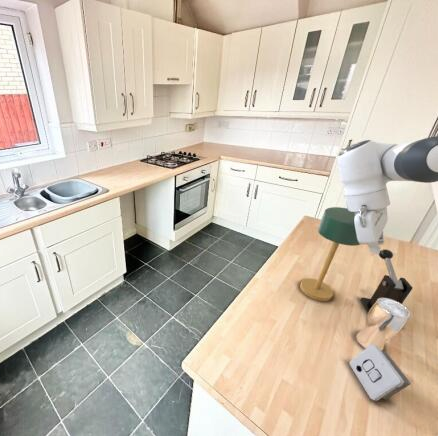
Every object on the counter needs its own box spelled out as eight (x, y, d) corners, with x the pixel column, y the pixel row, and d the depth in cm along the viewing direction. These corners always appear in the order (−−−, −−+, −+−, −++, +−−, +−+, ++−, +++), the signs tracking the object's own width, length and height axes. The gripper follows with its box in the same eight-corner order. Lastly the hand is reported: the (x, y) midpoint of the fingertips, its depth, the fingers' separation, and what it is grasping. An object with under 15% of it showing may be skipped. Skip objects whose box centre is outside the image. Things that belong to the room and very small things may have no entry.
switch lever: (375, 251, 83) (381, 246, 81) (387, 253, 83) (393, 248, 80) (386, 290, 76) (393, 286, 73) (400, 292, 75) (407, 288, 72)
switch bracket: (360, 299, 85) (377, 269, 79) (384, 304, 83) (404, 273, 77) (372, 320, 78) (392, 289, 71) (399, 326, 76) (422, 294, 69)
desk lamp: (342, 296, 87) (382, 219, 72) (321, 308, 82) (358, 229, 67) (310, 275, 96) (339, 204, 81) (289, 285, 92) (316, 211, 77)
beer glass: (361, 351, 69) (385, 315, 62) (349, 330, 75) (370, 295, 68) (390, 356, 67) (418, 320, 60) (376, 334, 73) (400, 299, 66)
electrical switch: (347, 362, 66) (365, 342, 62) (367, 365, 66) (386, 345, 61) (371, 401, 58) (393, 381, 53) (393, 405, 58) (418, 385, 53)
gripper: (375, 209, 58) (388, 263, 59) (387, 191, 70) (398, 235, 72) (343, 213, 63) (355, 262, 64) (359, 195, 75) (369, 237, 77)
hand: (378, 248), depth 68 cm, fingers open, 6 cm apart
